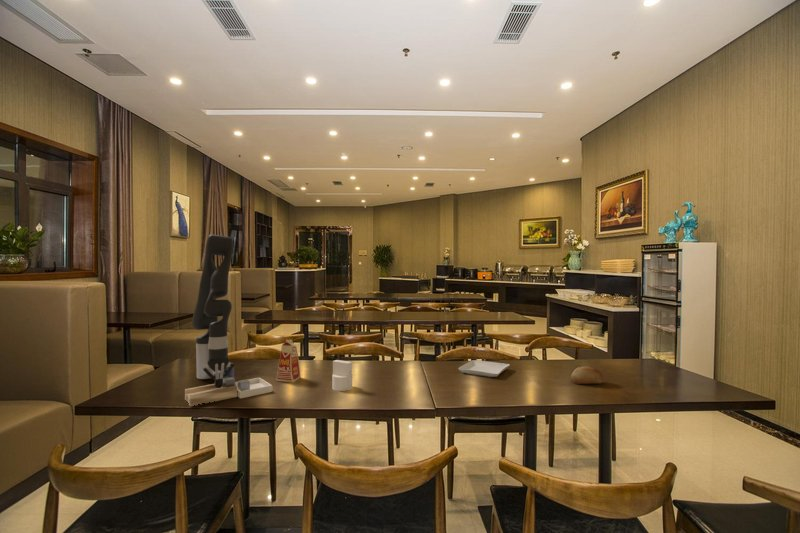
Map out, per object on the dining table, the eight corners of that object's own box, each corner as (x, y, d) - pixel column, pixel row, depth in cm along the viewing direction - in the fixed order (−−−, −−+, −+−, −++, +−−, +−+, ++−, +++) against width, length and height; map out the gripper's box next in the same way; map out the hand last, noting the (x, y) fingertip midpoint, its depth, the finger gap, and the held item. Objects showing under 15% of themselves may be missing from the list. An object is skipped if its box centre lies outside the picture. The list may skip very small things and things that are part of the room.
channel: (184, 399, 168) (184, 389, 168) (229, 391, 179) (229, 381, 179) (190, 406, 160) (190, 395, 160) (237, 396, 172) (236, 386, 172)
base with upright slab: (356, 386, 185) (356, 360, 185) (344, 392, 178) (344, 365, 177) (340, 383, 190) (340, 358, 190) (328, 389, 182) (328, 362, 182)
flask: (235, 384, 189) (235, 362, 189) (231, 386, 186) (230, 363, 186) (218, 383, 191) (218, 360, 191) (214, 385, 188) (214, 362, 188)
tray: (228, 389, 182) (228, 383, 182) (259, 383, 191) (259, 377, 191) (240, 398, 170) (240, 391, 169) (272, 391, 178) (272, 385, 178)
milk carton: (293, 382, 192) (292, 340, 192) (275, 381, 194) (275, 339, 194) (301, 376, 201) (301, 337, 201) (284, 375, 203) (284, 336, 203)
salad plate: (457, 374, 206) (457, 367, 206) (472, 365, 225) (472, 359, 224) (497, 380, 195) (497, 373, 195) (510, 370, 213) (510, 364, 213)
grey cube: (222, 387, 174) (222, 378, 174) (232, 386, 177) (232, 376, 177) (225, 390, 171) (225, 380, 171) (235, 388, 174) (235, 379, 174)
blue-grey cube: (237, 380, 178) (246, 379, 181) (237, 389, 178) (246, 388, 181) (240, 383, 175) (249, 381, 178) (240, 392, 175) (249, 390, 178)
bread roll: (608, 386, 184) (608, 369, 184) (576, 386, 184) (576, 369, 184) (598, 380, 194) (598, 364, 194) (567, 380, 194) (567, 364, 194)
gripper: (231, 343, 179) (232, 382, 179) (199, 347, 170) (199, 388, 170) (237, 346, 173) (237, 386, 173) (203, 350, 164) (203, 392, 164)
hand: (218, 387), depth 171 cm, fingers closed
